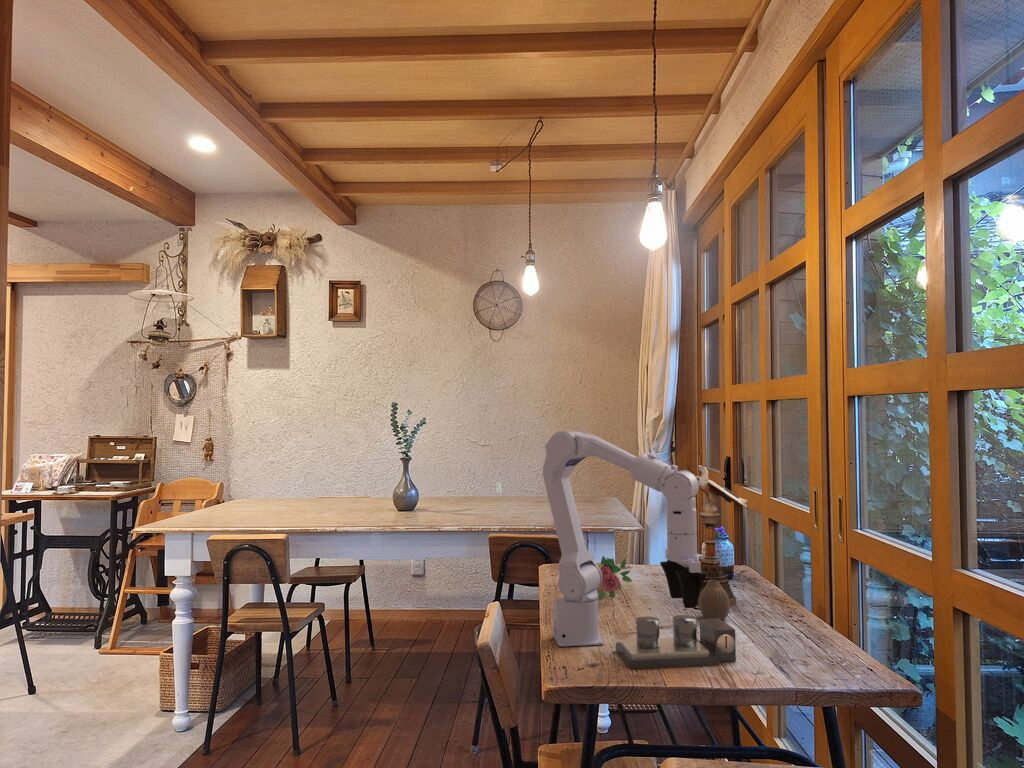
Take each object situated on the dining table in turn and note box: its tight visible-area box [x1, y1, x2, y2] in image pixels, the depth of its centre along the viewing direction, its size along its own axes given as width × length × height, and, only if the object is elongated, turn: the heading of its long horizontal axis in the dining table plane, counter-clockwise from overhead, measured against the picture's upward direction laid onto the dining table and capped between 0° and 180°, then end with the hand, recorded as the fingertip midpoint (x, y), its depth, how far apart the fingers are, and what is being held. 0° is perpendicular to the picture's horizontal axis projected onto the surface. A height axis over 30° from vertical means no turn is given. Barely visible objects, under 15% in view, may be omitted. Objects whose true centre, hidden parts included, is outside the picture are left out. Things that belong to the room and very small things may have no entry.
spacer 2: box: [672, 614, 698, 648], centre depth 141 cm, size 4×4×5 cm
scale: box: [615, 618, 737, 670], centre depth 141 cm, size 21×11×6 cm, turn 96°
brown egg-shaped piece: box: [698, 580, 731, 621], centre depth 168 cm, size 7×7×9 cm
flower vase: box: [595, 555, 633, 601], centre depth 194 cm, size 12×12×35 cm
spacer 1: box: [635, 615, 661, 649], centre depth 140 cm, size 4×4×5 cm
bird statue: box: [695, 464, 749, 607], centre depth 185 cm, size 17×13×35 cm
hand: (683, 602), depth 141 cm, fingers open, 7 cm apart
